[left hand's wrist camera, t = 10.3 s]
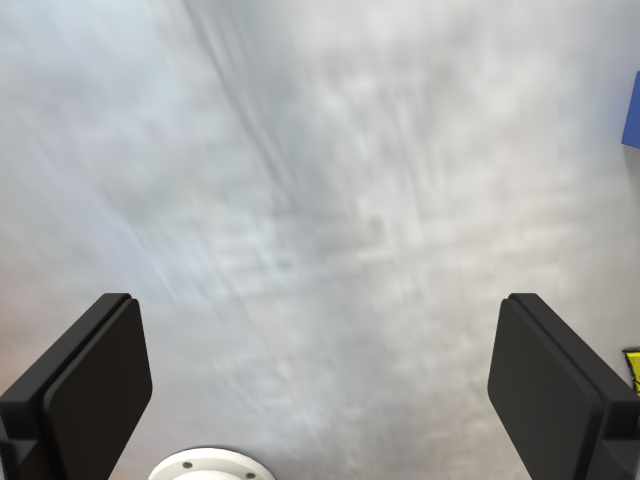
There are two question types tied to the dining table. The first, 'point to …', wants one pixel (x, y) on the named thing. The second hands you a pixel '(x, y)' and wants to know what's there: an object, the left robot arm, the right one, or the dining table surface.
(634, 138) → the brick
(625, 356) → the toy
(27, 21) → the dining table surface
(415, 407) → the dining table surface
